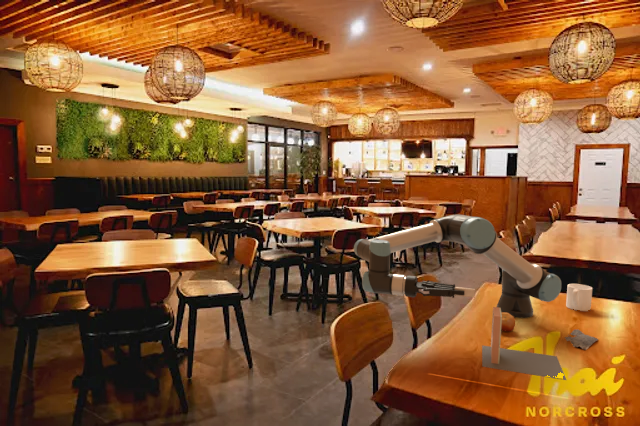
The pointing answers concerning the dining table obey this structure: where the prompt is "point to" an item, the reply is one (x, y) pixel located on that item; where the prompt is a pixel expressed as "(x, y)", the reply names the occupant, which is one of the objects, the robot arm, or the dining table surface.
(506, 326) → the fruit
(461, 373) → the dining table surface
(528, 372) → the rubber mat
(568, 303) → the mug
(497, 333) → the terracotta tile
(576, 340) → the stone slab
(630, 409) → the dining table surface
